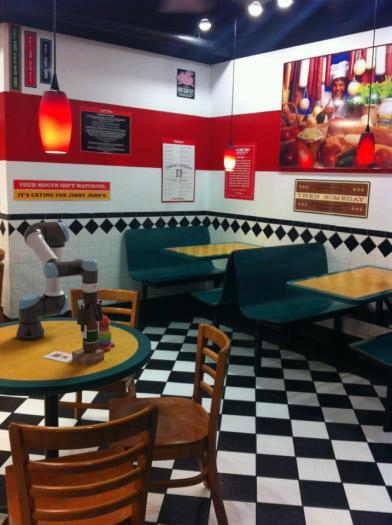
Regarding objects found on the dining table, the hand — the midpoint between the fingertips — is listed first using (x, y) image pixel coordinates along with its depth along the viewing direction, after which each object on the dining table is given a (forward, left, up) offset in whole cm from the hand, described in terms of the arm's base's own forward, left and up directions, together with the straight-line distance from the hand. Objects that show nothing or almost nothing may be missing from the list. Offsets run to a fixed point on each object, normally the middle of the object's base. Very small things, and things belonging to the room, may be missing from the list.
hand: (90, 335), depth 252 cm
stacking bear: (-8, +17, -13) cm, 23 cm away
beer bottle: (0, 0, -7) cm, 7 cm away
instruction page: (-15, -6, -13) cm, 21 cm away
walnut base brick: (-1, -1, -13) cm, 13 cm away
